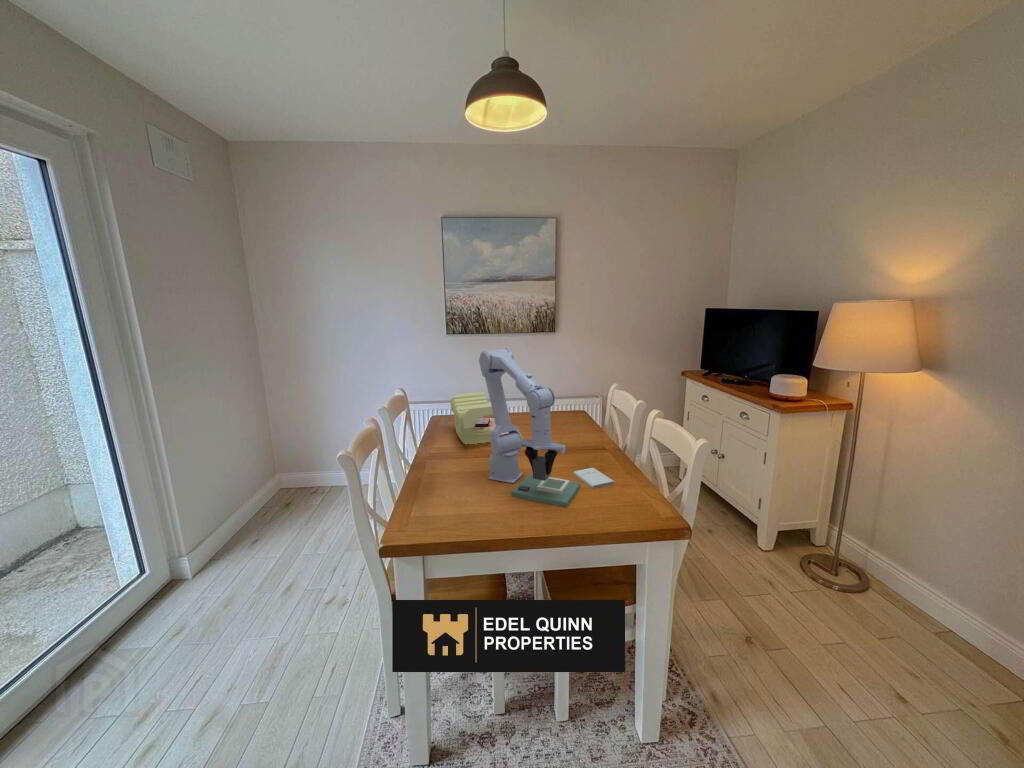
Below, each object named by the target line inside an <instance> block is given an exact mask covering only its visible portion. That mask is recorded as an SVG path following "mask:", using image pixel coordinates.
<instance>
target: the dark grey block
mask: <svg viewBox="0 0 1024 768" xmlns="http://www.w3.org/2000/svg"><path fill="white" fill-rule="evenodd" d="M532 475H533V479H538V480H544V481H546V480H547V479H548V477H551V473H550V474H549V475H547V473H546V458H545V455H540V454H537V456H536V457H535V458H534V459H533V471H532Z"/></svg>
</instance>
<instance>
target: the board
mask: <svg viewBox="0 0 1024 768" xmlns="http://www.w3.org/2000/svg"><path fill="white" fill-rule="evenodd" d="M581 486H582V485H581V482H577V481H573V480H572V481H571V480H568V479H564V478H557V477H552V476H549V477H548V479H547V480H546V481H544V480H538V479H533V474H531V473H530V474H528V475H527V476H526V477H525V478H523V480H521V482H519V483H518V484H517V486H515V487H514V489H512V490H511V491H510V494H511V495H510V497H512V498H513V497H514V498H517V499H522V500H526V501H527V500H528V501H531V502H538V503H543V504H548V505H553V506H557V507H562V508H568V507H569V505H570V503H571V502H572V501H573V499H574V498H575V496H576V495H577V493H578V492H579V490H580V489H581Z"/></svg>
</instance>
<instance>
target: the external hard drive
mask: <svg viewBox="0 0 1024 768" xmlns="http://www.w3.org/2000/svg"><path fill="white" fill-rule="evenodd" d="M573 475H574V476H575V477H577V478H579V480H581V481H582V482H583V483H585V484H586V485H587V486H589V487H590V488H592V490H593V489H597V488H603V487H607V486H611V485H615V481H614V480H613V479H611V478H610V477H609V476H607V475H605V474H604V473H602V472H600V471H599V470H598V469H596V468H595V467H590V468H585V469H579V470H574V471H573Z"/></svg>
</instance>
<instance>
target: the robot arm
mask: <svg viewBox="0 0 1024 768" xmlns="http://www.w3.org/2000/svg"><path fill="white" fill-rule="evenodd" d="M478 363H479V366H480V370H481V371H480V372H481V375H482V377H484V379H485V383H486V387H487V392H488V397H489V401H490V406H491V407H492V411H493V415H492V416H493V419H494V424H495V427H494V428H493V429H492V430H491V431H492V432H491V433H490V436H491V442H490V448H491V450H492V452H491V453H490V456H489V463H488V464H489V465H488V466H489V477H488V479H489V480H493V481H498V482H504V483H508V484H515V483H516V482H517V481H518V480H519V479H520V478H521V477H523V475H524V473H523V472H519V453H520V449H522V448H525V450H524V454H525V456H526V458H527V459H528V462H529V464H530V467H531V471H532V472H533V459H534V458H535V457H536V456H537V455H539V454H538V452H539V450H541V451H546V452H545V453H544V456H545V458H546V473H547V475H549V474H550V475H551V473H552V469H553V465H554V463H555V462H554V461H555V459H556V457H557V455H558V453H559V454H562V455H564V453H566V445H565V444H562V443H558V442H555V441H554V442H553V441H552V423H551V421H552V419H551V418H552V414H551V413H552V410H551V407H553V406H554V404H555V401H556V398H555V397H556V396H555V394H554V392H553V390H552V388H550V387H548V386H547V387H546V386H544V385H543V386H542V384H540V383H539V381H538V380H536V378H535V377H533V375H532V373H528V372H524V371H523V370H522V368H520V366H519V365H518V364H517V362H516V361H515V360H514V354H513V352H512V351H511V350H510V348H507V347H505V348H501V349H500V348H499V349H490V350H485V349H484V350H482V351H481V352H480V355H479V358H478ZM506 373H507V375H509V376H510V377H511V378H512V379H513V380H514V381H515V387H516V389H518V390H519V391H520V393H521V394H522V395H523V396H524V397H525V399H526V404H527V407H528V412H529V415H530V423H531V425H530V426H531V427H530V428H531V439H524V438H523V436H522V434H521V432H520V430H519V427H518V426H516V425H515V424H513V423H512V422H511V418H510V414H509V408H508V404H507V401H506V400H507V399H506V395H505V391H504V387H503V382H502V377H503V375H504V374H506Z"/></svg>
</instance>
